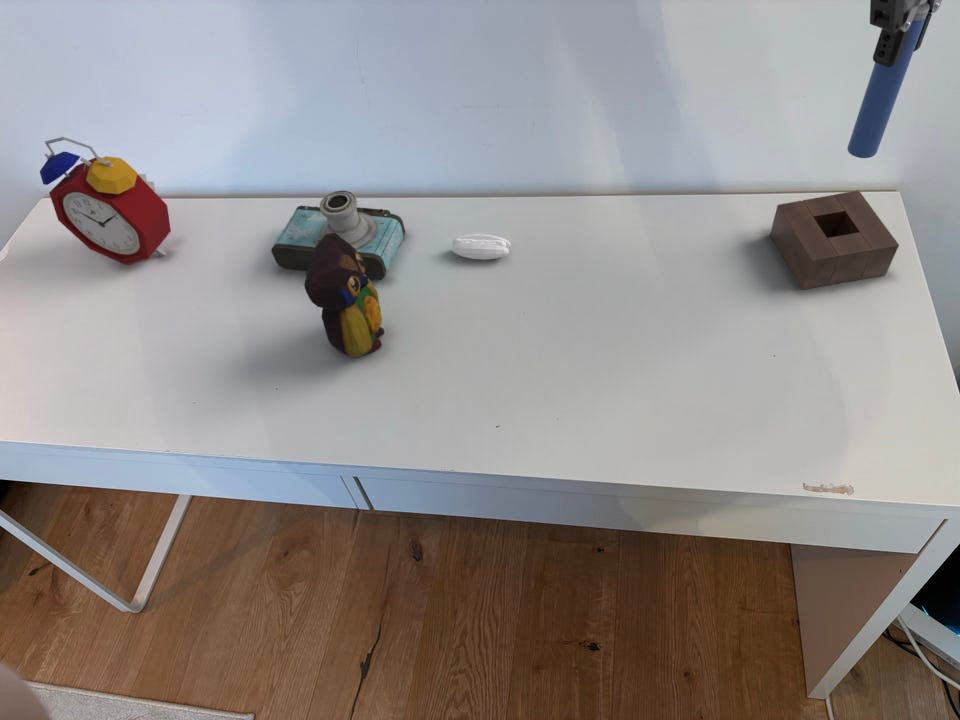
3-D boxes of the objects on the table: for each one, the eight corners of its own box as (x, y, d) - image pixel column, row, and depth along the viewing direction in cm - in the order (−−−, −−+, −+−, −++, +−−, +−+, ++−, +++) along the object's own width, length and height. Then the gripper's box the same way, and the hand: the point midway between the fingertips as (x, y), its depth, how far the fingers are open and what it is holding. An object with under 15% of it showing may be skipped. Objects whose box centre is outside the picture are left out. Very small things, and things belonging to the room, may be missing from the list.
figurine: (382, 372, 89) (351, 287, 77) (328, 373, 90) (289, 288, 78) (394, 312, 95) (367, 225, 83) (343, 314, 96) (309, 227, 84)
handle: (869, 140, 81) (919, -5, 69) (881, 155, 79) (936, 9, 67) (842, 144, 81) (888, 0, 69) (854, 160, 79) (903, 15, 67)
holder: (847, 220, 96) (858, 190, 92) (885, 275, 89) (899, 244, 85) (769, 234, 96) (777, 204, 92) (802, 290, 89) (811, 260, 85)
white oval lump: (455, 245, 101) (453, 230, 99) (512, 248, 100) (510, 232, 98) (451, 261, 100) (448, 246, 97) (508, 264, 98) (506, 248, 96)
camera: (254, 216, 95) (286, 169, 101) (278, 268, 103) (306, 221, 109) (370, 227, 91) (396, 177, 97) (386, 280, 99) (409, 231, 104)
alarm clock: (85, 259, 109) (2, 146, 94) (119, 221, 114) (45, 108, 99) (166, 272, 105) (93, 157, 90) (198, 232, 110) (134, 116, 94)
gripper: (959, -108, 54) (885, 100, 67) (1061, -167, 58) (973, 40, 72) (868, -129, 58) (816, 71, 72) (970, -182, 62) (903, 16, 76)
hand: (895, 55), depth 72 cm, fingers closed on handle, 3 cm apart
